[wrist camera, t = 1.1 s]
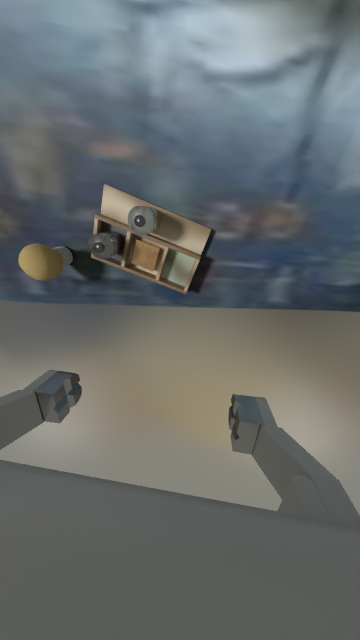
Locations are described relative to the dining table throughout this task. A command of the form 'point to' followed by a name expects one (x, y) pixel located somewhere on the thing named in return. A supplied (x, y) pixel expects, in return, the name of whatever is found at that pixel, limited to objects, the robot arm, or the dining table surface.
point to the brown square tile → (145, 255)
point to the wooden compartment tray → (153, 240)
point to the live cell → (144, 220)
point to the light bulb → (44, 260)
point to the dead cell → (106, 244)
